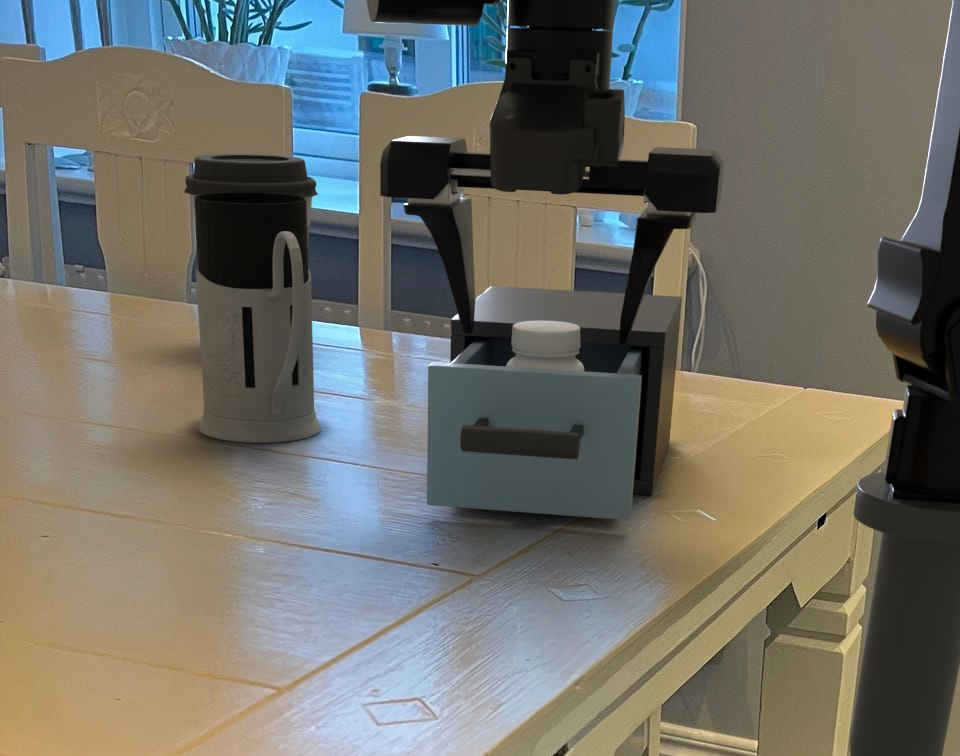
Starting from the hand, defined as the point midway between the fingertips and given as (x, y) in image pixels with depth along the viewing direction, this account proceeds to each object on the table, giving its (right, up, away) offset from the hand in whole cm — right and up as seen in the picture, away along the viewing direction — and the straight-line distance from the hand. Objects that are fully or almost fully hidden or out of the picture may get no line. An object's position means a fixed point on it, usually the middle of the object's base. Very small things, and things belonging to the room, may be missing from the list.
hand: (545, 338), depth 94 cm
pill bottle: (0, -7, +4) cm, 8 cm away
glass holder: (-19, 0, +19) cm, 27 cm away
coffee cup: (-24, +18, +48) cm, 57 cm away
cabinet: (+2, -2, +15) cm, 15 cm away
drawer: (0, -8, +4) cm, 9 cm away
